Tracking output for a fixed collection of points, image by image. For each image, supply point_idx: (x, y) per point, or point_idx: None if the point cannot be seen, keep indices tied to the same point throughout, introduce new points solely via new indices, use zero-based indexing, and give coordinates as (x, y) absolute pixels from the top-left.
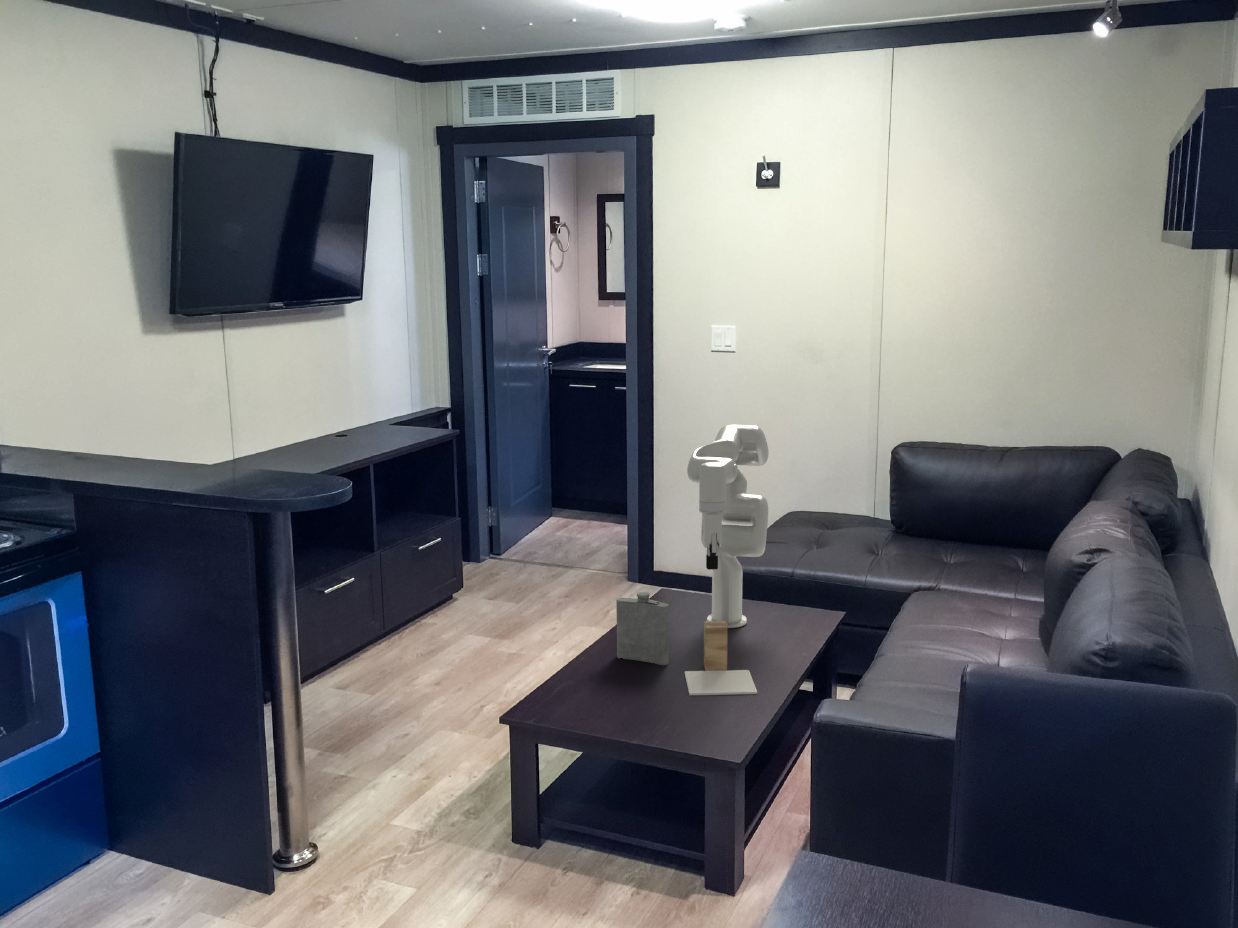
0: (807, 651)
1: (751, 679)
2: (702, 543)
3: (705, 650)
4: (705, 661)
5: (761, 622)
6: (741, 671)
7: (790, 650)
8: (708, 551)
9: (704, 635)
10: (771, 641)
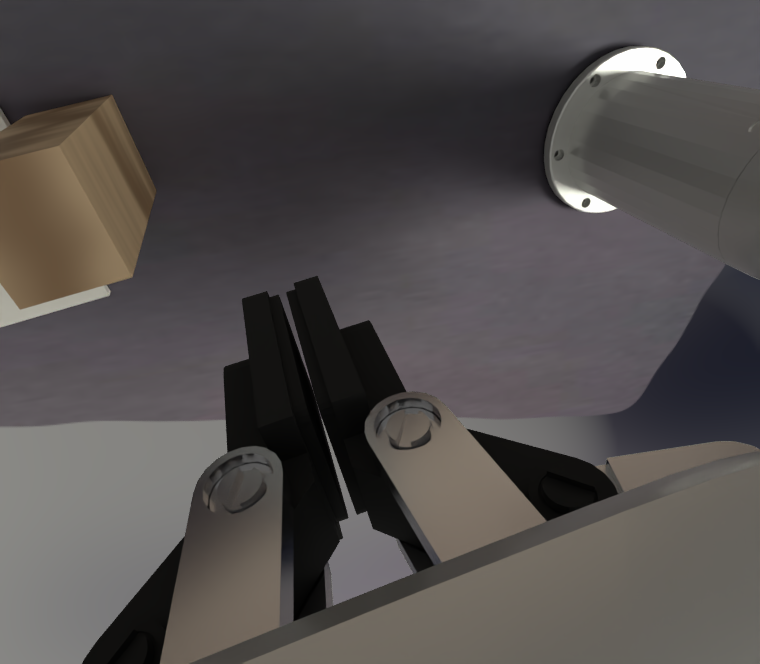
0: None
1: (10, 320)
2: (323, 642)
3: (6, 134)
4: (23, 122)
5: (589, 254)
6: None
7: None
8: (177, 582)
9: (44, 134)
10: (425, 310)
